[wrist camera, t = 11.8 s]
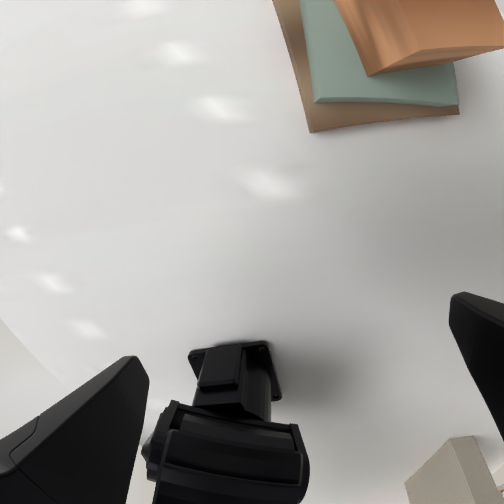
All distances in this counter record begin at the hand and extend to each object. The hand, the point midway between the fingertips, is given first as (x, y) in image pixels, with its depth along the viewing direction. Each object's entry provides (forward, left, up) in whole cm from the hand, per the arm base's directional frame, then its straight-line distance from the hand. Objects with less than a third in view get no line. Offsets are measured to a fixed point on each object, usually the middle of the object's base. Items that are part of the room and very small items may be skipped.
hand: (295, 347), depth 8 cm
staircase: (-38, -16, -14) cm, 44 cm away
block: (+10, -8, -9) cm, 16 cm away
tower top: (+10, -8, -11) cm, 17 cm away
